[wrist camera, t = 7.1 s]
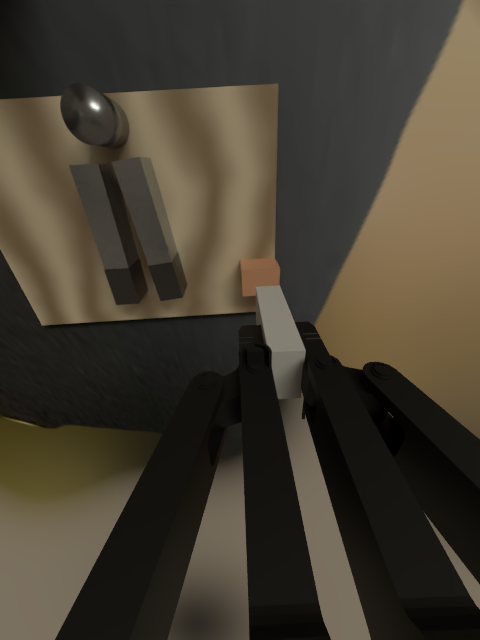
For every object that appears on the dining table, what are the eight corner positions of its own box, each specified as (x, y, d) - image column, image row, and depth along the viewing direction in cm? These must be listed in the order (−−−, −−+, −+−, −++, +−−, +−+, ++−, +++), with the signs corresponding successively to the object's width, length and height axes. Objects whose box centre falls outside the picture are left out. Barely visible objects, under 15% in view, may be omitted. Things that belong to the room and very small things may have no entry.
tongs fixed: (67, 98, 21) (36, 85, 18) (122, 95, 21) (102, 81, 18) (127, 291, 30) (114, 306, 27) (165, 288, 30) (158, 303, 27)
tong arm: (125, 162, 24) (110, 161, 21) (151, 157, 24) (139, 156, 20) (167, 287, 30) (160, 301, 27) (187, 284, 30) (182, 297, 27)
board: (47, 320, 33) (42, 325, 32) (-66, 106, 22) (-80, 103, 21) (272, 306, 34) (273, 310, 33) (275, 87, 22) (278, 83, 21)
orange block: (241, 283, 31) (242, 296, 28) (240, 259, 29) (241, 270, 26) (274, 281, 31) (279, 294, 28) (274, 257, 29) (279, 268, 26)
